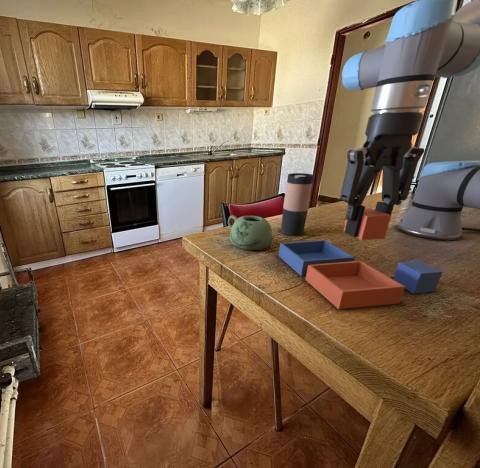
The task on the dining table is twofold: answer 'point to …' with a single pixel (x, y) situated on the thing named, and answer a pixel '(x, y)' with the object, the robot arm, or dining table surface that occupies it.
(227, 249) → the dining table surface
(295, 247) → the blue bin
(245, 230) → the mug
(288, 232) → the travel mug
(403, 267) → the blue block
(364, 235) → the terracotta block
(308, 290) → the dining table surface
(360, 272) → the terracotta bin
